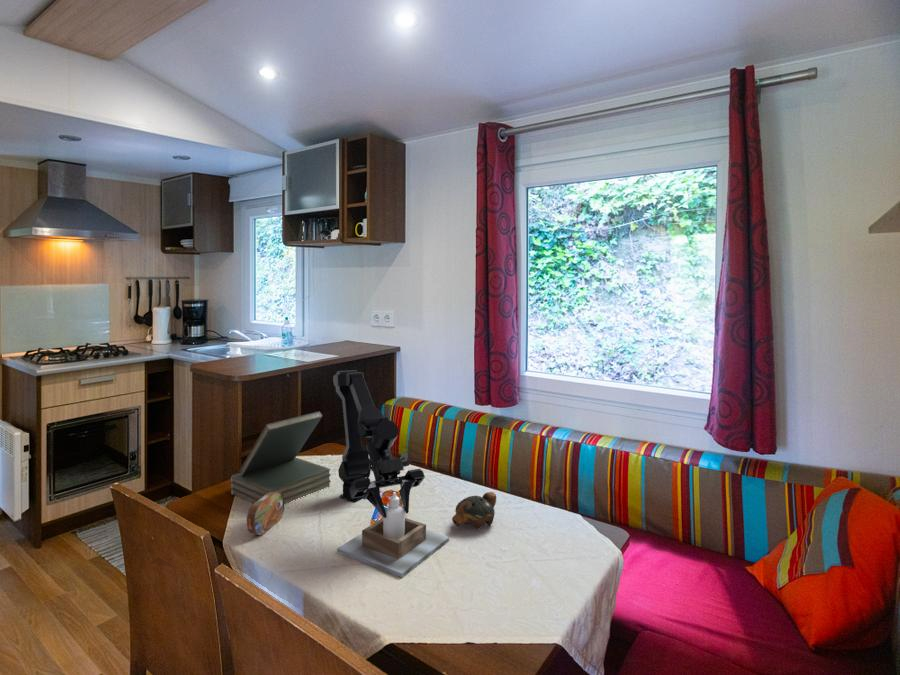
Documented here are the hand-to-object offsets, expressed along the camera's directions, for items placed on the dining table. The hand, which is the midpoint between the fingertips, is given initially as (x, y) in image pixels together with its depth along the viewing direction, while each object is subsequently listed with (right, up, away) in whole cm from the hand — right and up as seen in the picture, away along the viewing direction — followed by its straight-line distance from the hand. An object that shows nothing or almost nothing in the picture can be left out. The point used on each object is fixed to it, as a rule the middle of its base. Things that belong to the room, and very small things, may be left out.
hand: (396, 515), depth 129 cm
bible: (-40, -5, +35) cm, 54 cm away
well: (-1, -9, +2) cm, 9 cm away
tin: (-36, -7, +11) cm, 39 cm away
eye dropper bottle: (-1, -7, +2) cm, 7 cm away
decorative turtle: (+20, -8, +15) cm, 26 cm away
